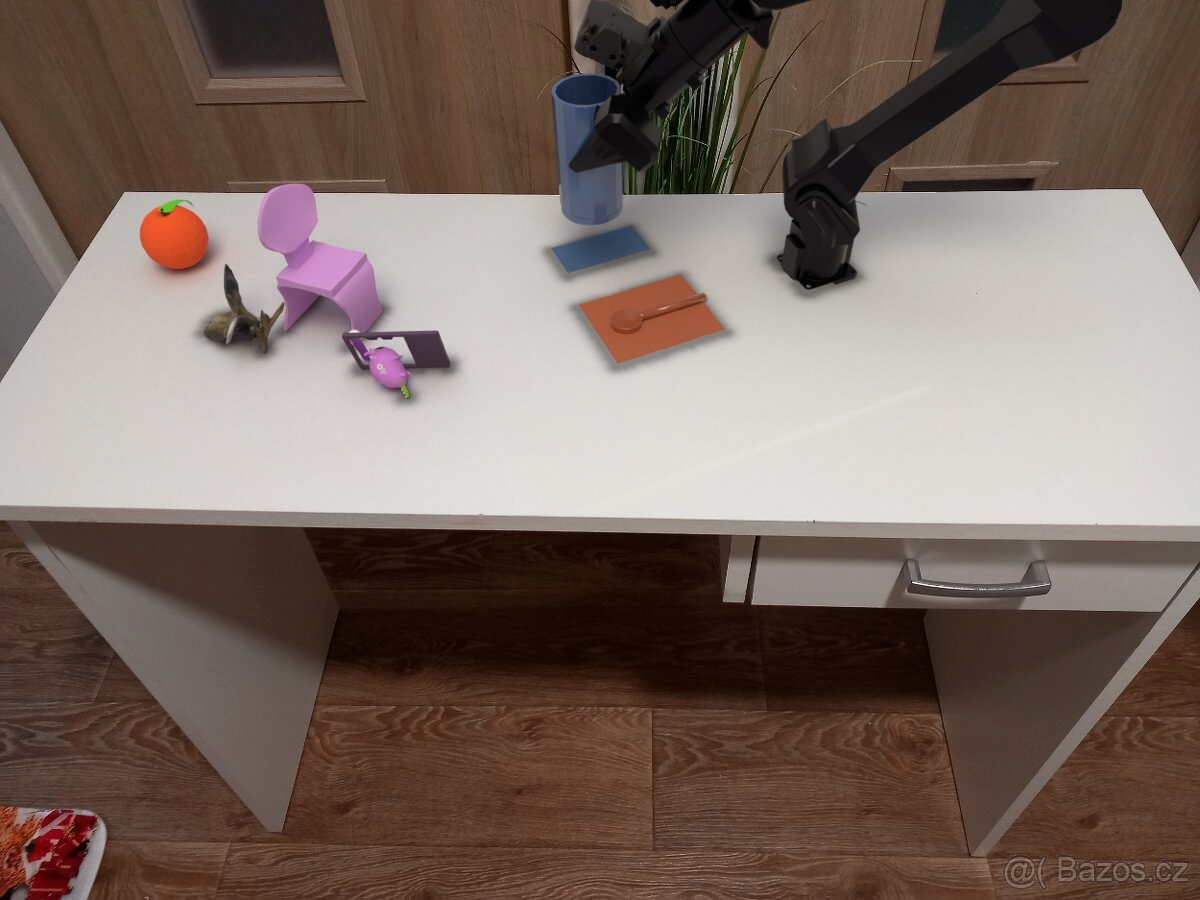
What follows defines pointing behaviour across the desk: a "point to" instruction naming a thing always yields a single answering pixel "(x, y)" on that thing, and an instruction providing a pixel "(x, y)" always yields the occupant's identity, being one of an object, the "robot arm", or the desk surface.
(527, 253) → the desk surface
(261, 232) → the toy chair
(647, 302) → the terracotta mat
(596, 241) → the blue mat
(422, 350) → the pink creature with frame
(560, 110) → the blue tumbler
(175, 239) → the clementine
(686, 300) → the terracotta spoon
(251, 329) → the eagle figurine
